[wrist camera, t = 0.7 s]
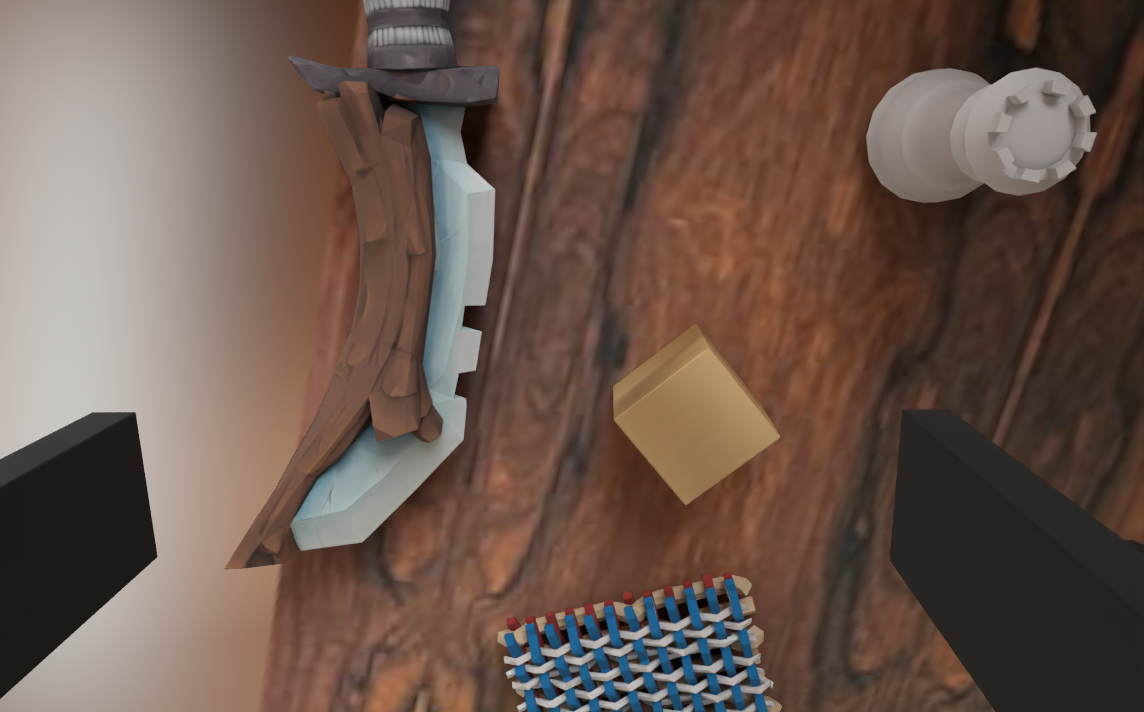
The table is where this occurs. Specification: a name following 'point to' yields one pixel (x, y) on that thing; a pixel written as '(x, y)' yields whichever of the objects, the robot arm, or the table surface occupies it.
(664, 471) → the block
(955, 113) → the rook chess piece
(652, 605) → the woven mat
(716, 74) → the table surface
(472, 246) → the decorative knife
